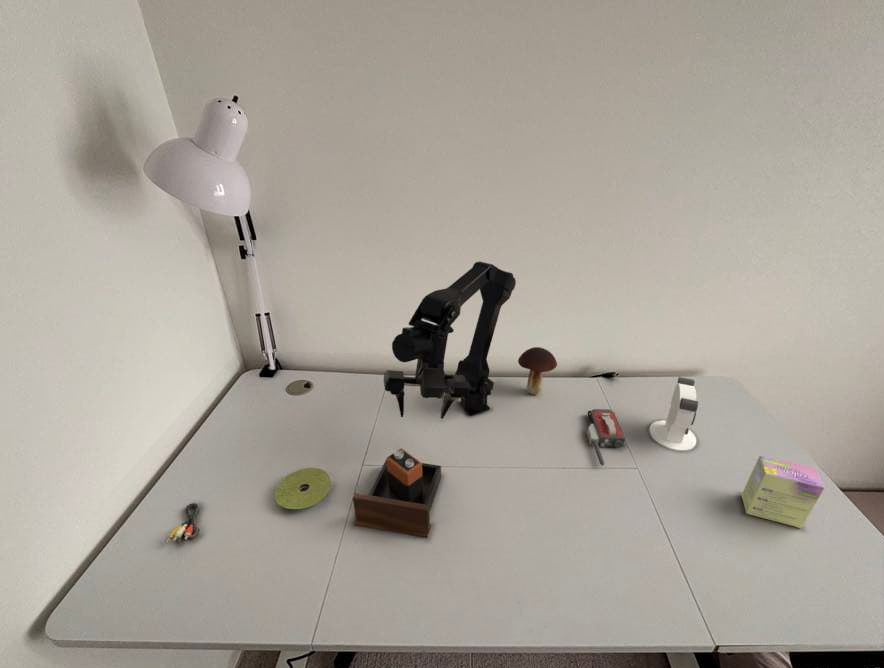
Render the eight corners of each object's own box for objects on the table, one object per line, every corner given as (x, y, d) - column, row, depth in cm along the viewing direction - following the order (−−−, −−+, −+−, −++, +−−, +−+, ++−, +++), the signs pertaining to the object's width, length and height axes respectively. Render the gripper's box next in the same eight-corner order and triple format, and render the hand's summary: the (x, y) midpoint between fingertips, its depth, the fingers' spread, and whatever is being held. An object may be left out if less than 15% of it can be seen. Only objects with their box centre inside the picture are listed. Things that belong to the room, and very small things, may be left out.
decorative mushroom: (507, 391, 128) (511, 347, 121) (532, 378, 135) (537, 335, 128) (536, 409, 122) (541, 363, 114) (560, 394, 128) (567, 349, 121)
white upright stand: (698, 457, 107) (716, 408, 99) (649, 445, 110) (664, 397, 103) (693, 427, 117) (710, 380, 109) (649, 417, 120) (662, 371, 113)
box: (793, 507, 94) (816, 467, 88) (801, 529, 89) (825, 488, 84) (740, 494, 97) (758, 454, 91) (745, 514, 92) (764, 473, 86)
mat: (292, 525, 86) (291, 518, 85) (266, 493, 93) (265, 487, 92) (342, 493, 94) (341, 486, 93) (315, 466, 100) (314, 459, 99)
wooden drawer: (382, 467, 101) (380, 444, 97) (446, 477, 98) (446, 454, 95) (354, 525, 87) (350, 500, 83) (427, 538, 85) (426, 513, 81)
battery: (403, 477, 97) (401, 443, 92) (424, 494, 93) (422, 459, 89) (387, 488, 94) (384, 454, 90) (408, 506, 90) (406, 471, 86)
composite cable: (188, 506, 89) (184, 498, 88) (213, 503, 90) (210, 495, 89) (167, 549, 81) (163, 540, 80) (195, 545, 82) (192, 537, 81)
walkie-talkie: (579, 415, 120) (597, 468, 102) (581, 402, 118) (600, 454, 100) (611, 415, 120) (634, 469, 102) (614, 402, 118) (638, 455, 100)
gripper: (391, 363, 85) (382, 434, 89) (482, 369, 91) (469, 436, 95) (387, 344, 95) (379, 409, 100) (469, 351, 101) (458, 412, 105)
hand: (421, 417), depth 99 cm, fingers open, 9 cm apart
